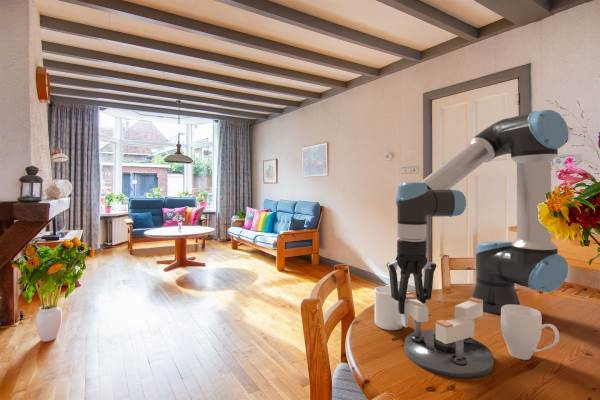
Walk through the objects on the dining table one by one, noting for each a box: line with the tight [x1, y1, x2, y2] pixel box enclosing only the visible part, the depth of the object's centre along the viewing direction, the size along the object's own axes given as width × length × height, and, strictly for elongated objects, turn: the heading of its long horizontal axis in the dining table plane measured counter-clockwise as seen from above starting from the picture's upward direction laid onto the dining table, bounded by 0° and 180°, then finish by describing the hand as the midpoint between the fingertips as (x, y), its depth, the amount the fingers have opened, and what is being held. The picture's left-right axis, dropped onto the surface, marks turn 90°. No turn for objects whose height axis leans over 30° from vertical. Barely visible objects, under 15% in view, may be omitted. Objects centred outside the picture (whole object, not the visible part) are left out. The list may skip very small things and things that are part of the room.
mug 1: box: [374, 285, 410, 331], centre depth 97 cm, size 9×12×11 cm
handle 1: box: [405, 294, 429, 337], centre depth 86 cm, size 9×3×9 cm, turn 5°
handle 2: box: [453, 296, 484, 339], centre depth 85 cm, size 9×3×9 cm, turn 126°
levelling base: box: [404, 329, 494, 379], centre depth 81 cm, size 20×20×6 cm
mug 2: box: [500, 304, 560, 361], centre depth 79 cm, size 12×8×11 cm
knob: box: [435, 317, 475, 359], centre depth 73 cm, size 9×3×9 cm, turn 115°
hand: (410, 324), depth 89 cm, fingers closed on handle 1, 3 cm apart
